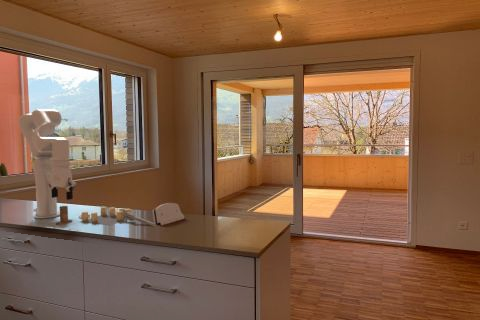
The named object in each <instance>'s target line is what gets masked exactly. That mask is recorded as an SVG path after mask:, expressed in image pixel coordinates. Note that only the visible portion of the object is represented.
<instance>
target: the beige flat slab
mask: <svg viewBox="0 0 480 320" xmlns="http://www.w3.org/2000/svg"><path fill="white" fill-rule="evenodd" d="M152 215H153V216H152V217H153V223H154V224H155V225H157V224H160V225H161V226H163V225H168V224H171V223H174V222H177V221H181V220H184V219H185V215H184V214H183V213H182V211H181V208H180V206H179V204H178V203H175V202H167V203H163V204H160V205H157V207H155V208H154V209H152Z"/></svg>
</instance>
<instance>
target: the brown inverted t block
mask: <svg viewBox="0 0 480 320" xmlns="http://www.w3.org/2000/svg"><path fill="white" fill-rule="evenodd" d="M68 207H69V206H68V205H61V206H59V212H60V215H59V221H57V222H56V223H55V224H56V225H57V226H62V225H66V224H69V223H71V222H73V219H69V211H68V210H69V209H68Z"/></svg>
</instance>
